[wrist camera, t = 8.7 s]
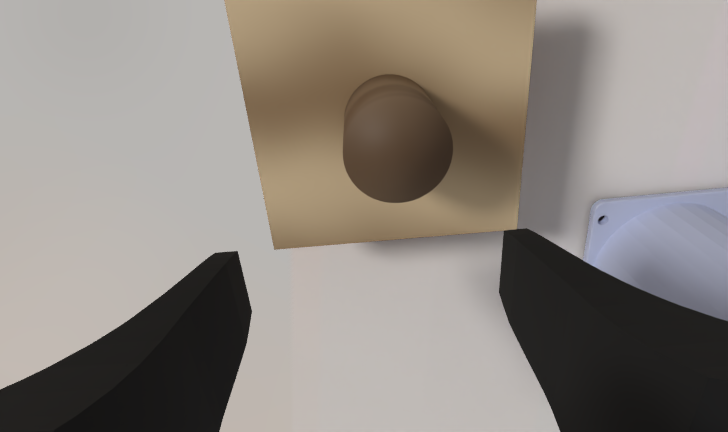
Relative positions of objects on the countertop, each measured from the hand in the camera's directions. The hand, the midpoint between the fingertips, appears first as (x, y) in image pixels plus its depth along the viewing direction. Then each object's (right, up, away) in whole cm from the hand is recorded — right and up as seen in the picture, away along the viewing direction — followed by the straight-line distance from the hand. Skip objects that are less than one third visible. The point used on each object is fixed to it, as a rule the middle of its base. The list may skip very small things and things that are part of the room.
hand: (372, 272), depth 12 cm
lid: (+1, +5, +4) cm, 7 cm away
